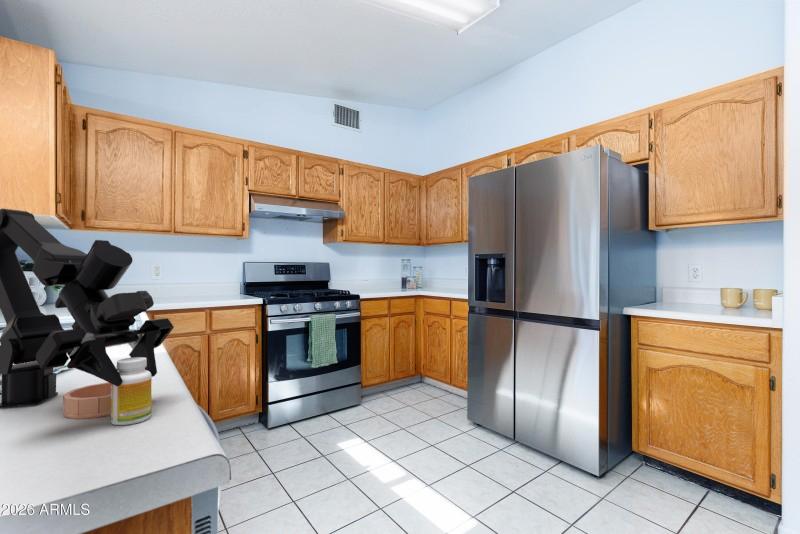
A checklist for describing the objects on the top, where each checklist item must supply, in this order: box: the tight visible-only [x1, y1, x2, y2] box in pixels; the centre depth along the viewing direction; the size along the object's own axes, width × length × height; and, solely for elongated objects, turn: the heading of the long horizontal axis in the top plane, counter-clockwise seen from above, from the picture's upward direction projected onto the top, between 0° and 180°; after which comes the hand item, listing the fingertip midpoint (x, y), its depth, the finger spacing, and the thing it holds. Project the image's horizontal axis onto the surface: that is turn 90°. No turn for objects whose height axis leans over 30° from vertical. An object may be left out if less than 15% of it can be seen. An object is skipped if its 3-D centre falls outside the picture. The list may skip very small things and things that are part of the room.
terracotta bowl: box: [62, 381, 111, 420], centre depth 68 cm, size 11×11×3 cm
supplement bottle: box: [110, 357, 152, 426], centre depth 62 cm, size 5×5×10 cm
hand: (138, 379), depth 62 cm, fingers closed on supplement bottle, 5 cm apart
